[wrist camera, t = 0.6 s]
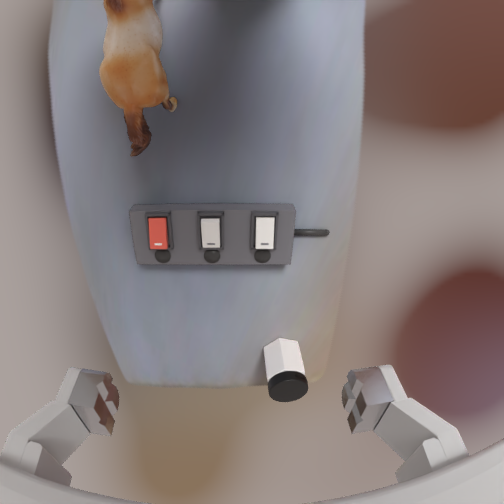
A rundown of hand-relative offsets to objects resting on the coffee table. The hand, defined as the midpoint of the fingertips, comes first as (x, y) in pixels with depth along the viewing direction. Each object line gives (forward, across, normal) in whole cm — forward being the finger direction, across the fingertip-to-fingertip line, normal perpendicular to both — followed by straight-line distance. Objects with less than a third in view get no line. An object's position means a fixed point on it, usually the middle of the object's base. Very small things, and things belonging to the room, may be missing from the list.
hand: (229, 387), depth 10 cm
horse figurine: (+43, +14, -16) cm, 48 cm away
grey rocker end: (+39, -5, +12) cm, 42 cm away
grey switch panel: (+43, 0, +14) cm, 45 cm away
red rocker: (+39, +12, +12) cm, 43 cm away
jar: (+44, -11, +44) cm, 63 cm away
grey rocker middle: (+39, +3, +12) cm, 41 cm away
